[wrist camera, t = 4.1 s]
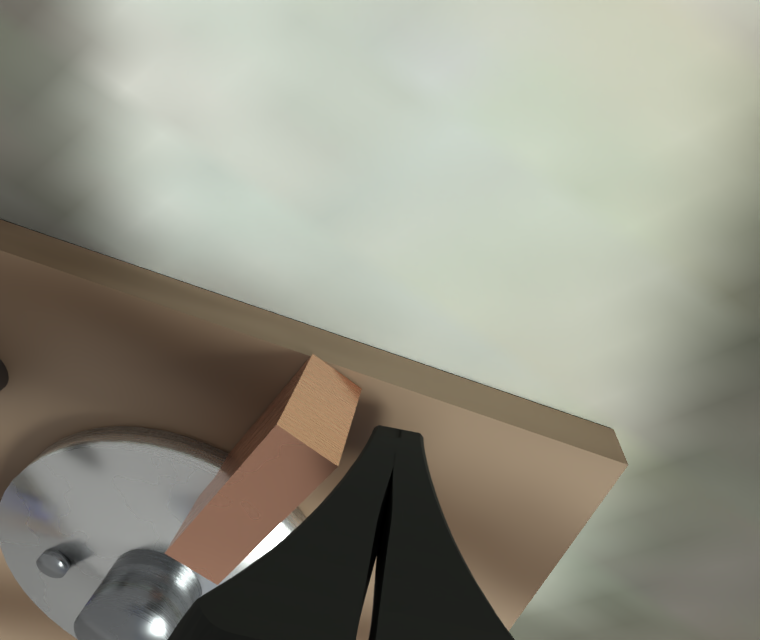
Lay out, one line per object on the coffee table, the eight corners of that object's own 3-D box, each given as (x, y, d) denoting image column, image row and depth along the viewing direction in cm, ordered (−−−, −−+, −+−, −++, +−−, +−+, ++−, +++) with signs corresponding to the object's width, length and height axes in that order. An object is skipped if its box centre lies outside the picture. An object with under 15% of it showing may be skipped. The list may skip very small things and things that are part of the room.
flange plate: (230, 691, 21) (197, 781, 19) (-18, 551, 19) (-95, 629, 17) (495, 484, 15) (502, 578, 12) (156, 241, 13) (75, 288, 10)
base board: (406, 737, 24) (393, 892, 19) (-76, 577, 24) (-201, 697, 19) (613, 429, 15) (676, 581, 11) (-147, 169, 15) (-407, 214, 10)
